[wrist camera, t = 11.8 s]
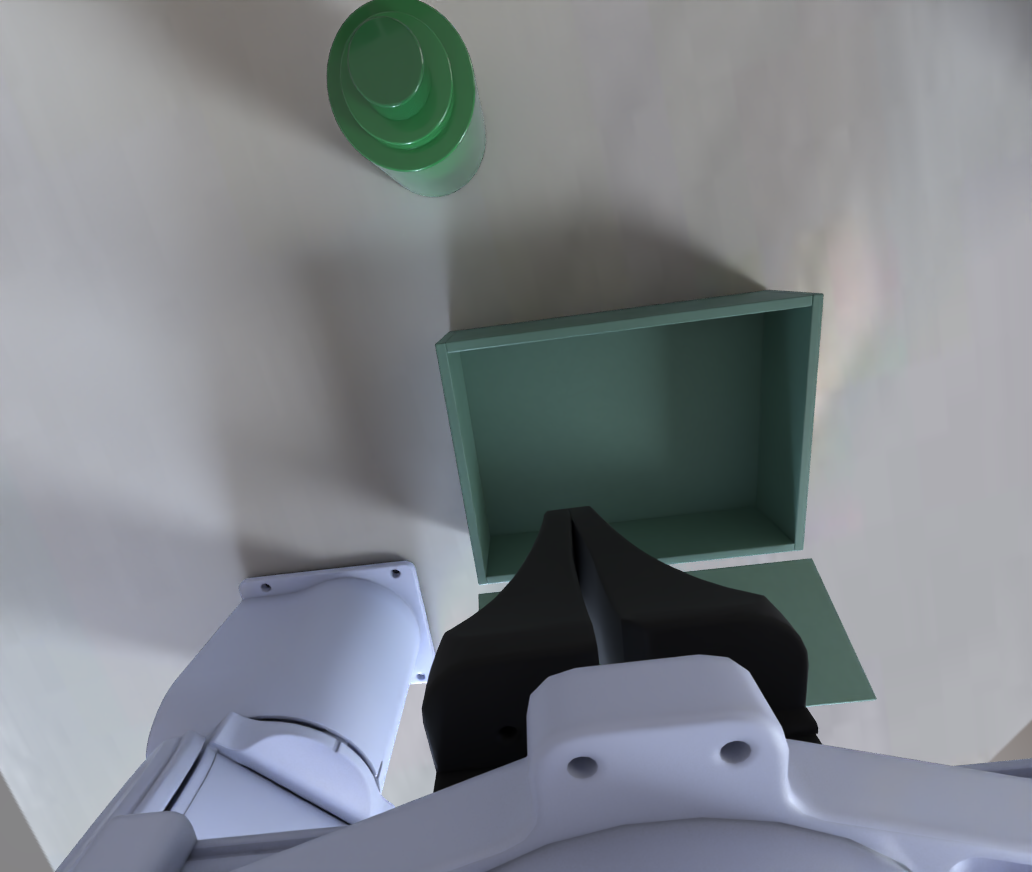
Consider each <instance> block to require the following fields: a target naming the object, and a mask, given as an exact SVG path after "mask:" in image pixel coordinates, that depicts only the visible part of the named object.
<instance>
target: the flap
mask: <svg viewBox="0 0 1032 872" xmlns="http://www.w3.org/2000/svg"><path fill="white" fill-rule="evenodd" d="M685 573H687V574H689V575H692V576H694V577H697V578H700V579H703V580H705V581H709V582H712V583H715V584H718V585H722V586H725V587H728V588H733V589H737V590H742V591H746V592H751V593H755V594H760V595H764V596H765V597H766V598H767V599H768V600H769V601H770V602H771V603H772V604H773V605H774V606H775V607H776V608H777V609H778V610H779V611H780V612H781V613H782V615H783V616H784V617H785V618H786V619H787V620H788V622H789V623H790V624H791V625H792V627H793V628H794V629H795V630H796V632H797V633H798V634H799V635H800V637H801V639H802V641H803V643H804V645H805V647H806V649H807V652H808V662H809V670H808V682H807V695H806V707H809V706H820V705H830V704H841V703H851V702H862V701H872V700H876V696H875V694H874V692H873V690H872V688H871V686H870V683H869V681H868V679H867V677H866V675H865V673H864V670H863V668H862V666H861V664H860V662H859V660H858V657H857V655H856V653H855V651H854V649H853V647H852V644H851V642H850V640H849V638H848V636H847V634H846V631H845V629H844V627H843V625H842V623H841V621H840V618H839V616H838V614H837V612H836V610H835V608H834V605H833V603H832V601H831V599H830V597H829V595H828V592H827V590H826V588H825V586H824V584H823V582H822V579H821V577H820V575H819V573H818V571H817V569H816V566H815V564H814V562H813V560H812V559H811V558H810V559H801V560H792V561H783V562H773V563H764V564H755V565H745V566H736V567H727V568H717V569H708V570H699V571H689V572H685ZM499 593H500V592H494V593H485V594H479V610H481V609H482V608H483V607H485V606H486V605H487V604H488V603H489V602H491V601H492V600H493V599H494V598H495V597H496V596H497V595H498V594H499ZM599 665H600V661H599Z"/></svg>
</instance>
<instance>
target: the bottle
mask: <svg viewBox="0 0 1032 872" xmlns="http://www.w3.org/2000/svg"><path fill="white" fill-rule="evenodd" d="M327 90H328V96H329V101H330V105H331V108H332V112H333V114H334V117H335V119H336V122H337V124H338V125H339V127H340V129H341V131H342V133H343V134H344V136H345V137H346V139H347V140H348V141H349V142H350V144H351V145H352V146H353V147H354V148H355V149H356V150H357V151H358V152H359V153H360V154H361V155H362V156H364V157H365V158H366V159H368V160H369V161H370V162H372V163H373V164H374V165H375V166H377V167H378V168H379V169H381V170H382V171H383V172H385V173H386V174H387V175H388V176H390V177H391V178H392V179H394V180H395V181H396V182H398V183H399V184H400V185H402V186H403V187H404V188H406V189H407V190H409V191H411V192H413V193H416V194H418V195H422V196H427V197H441V196H445V195H449V194H451V193H454V192H456V191H458V190H459V189H461V188H462V187H463V186H465V185H466V184H467V183H468V182H469V181H470V180H471V179H472V177H473V176H474V175H475V173H476V172H477V170H478V168H479V166H480V164H481V161H482V159H483V155H484V151H485V145H486V130H485V123H484V118H483V113H482V108H481V103H480V99H479V94H478V89H477V84H476V79H475V75H474V70H473V65H472V62H471V59H470V55H469V53H468V51H467V48H466V46H465V44H464V42H463V40H462V38H461V37H460V35H459V33H458V32H457V31H456V29H455V28H454V27H453V25H452V24H451V23H450V22H449V21H448V20H447V19H446V18H445V17H444V16H443V15H442V14H441V13H439V12H438V11H437V10H436V9H434V8H433V7H431V6H429V5H428V4H426V3H423V2H421V1H419V0H372V1H370V2H368V3H366V4H364V5H362V6H361V7H359V8H358V9H357V10H355V11H354V12H353V13H352V14H351V15H350V16H349V17H348V18H347V19H346V21H345V22H344V23H343V24H342V26H341V28H340V29H339V31H338V32H337V34H336V37H335V39H334V41H333V43H332V47H331V50H330V53H329V59H328V64H327Z"/></svg>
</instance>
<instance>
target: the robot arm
mask: <svg viewBox="0 0 1032 872" xmlns="http://www.w3.org/2000/svg"><path fill="white" fill-rule="evenodd" d="M394 569H396V570H398V571H399V572H400V573H394V572H393V571H392V570H394ZM265 584H268V585H270V587H267V586H266V585H265ZM239 591H240V594H241V597H242V599H243V600H242V601H241V602H240V604H239V605H238V606H237V607H236V608H235V610H234V611H233V612H232V613H231V614H230V616H229V617H228V618H227V619H226V620H225V622H224V623H223V624H222V625H221V626H220V628H219V629H218V630H217V631H216V632H215V634H214V635H213V636H212V637H211V638H210V640H209V641H208V642H207V643H206V644H205V645H204V647H203V648H202V649H201V650H200V651H199V653H198V654H197V655H196V656H195V657H194V659H193V660H192V661H191V662H190V663H189V665H188V666H187V667H186V668H185V669H184V671H183V672H182V673H181V674H180V675H179V677H178V678H177V679H176V680H175V681H174V683H173V684H172V686H171V687H170V689H169V690H168V692H167V693H166V695H165V697H164V699H163V700H162V702H161V705H160V707H159V709H158V711H157V714H156V716H155V719H154V722H153V724H152V727H151V731H150V734H149V738H148V743H147V751H146V760H145V761H144V762H143V763H142V764H141V766H140V767H139V768H138V769H137V770H136V771H135V773H134V774H133V775H132V776H131V777H130V779H129V780H128V781H127V782H126V783H125V785H124V786H123V787H122V788H121V789H120V791H119V792H118V793H117V794H116V796H115V797H114V798H113V799H112V800H111V802H110V803H109V804H108V805H107V807H106V808H105V809H104V810H103V812H102V813H101V814H100V815H99V817H98V818H97V819H96V820H95V822H94V823H93V824H92V825H91V827H90V828H89V829H88V830H87V832H86V833H85V834H84V835H83V837H82V838H81V839H80V840H79V842H78V843H77V844H76V845H75V847H74V848H73V849H72V851H71V852H70V853H69V854H68V856H67V857H66V858H65V860H64V861H63V862H62V863H61V865H60V866H59V867H58V869H57V870H56V871H55V872H1032V758H1030V759H1020V760H1009V761H999V762H989V763H979V764H969V765H958V766H950V765H944V764H938V763H932V762H926V761H920V760H914V759H907V758H901V757H895V756H889V755H883V754H877V753H871V752H865V751H859V750H852V749H846V748H840V747H834V746H828V745H822V743H821V742H820V740H819V739H818V737H817V736H816V734H818V726H817V723H816V721H815V719H814V718H813V716H812V715H811V713H810V712H809V710H808V709H807V708H806V695H807V682H808V670H809V662H808V652H807V649H806V647H805V645H804V643H803V641H802V639H801V637H800V635H799V634H798V633H797V632H796V630H795V629H794V628H793V627H792V625H791V624H790V623H789V622H788V620H787V619H786V618H785V617H784V616H783V615H782V613H781V612H780V611H779V610H778V609H777V608H776V607H775V606H774V605H773V604H772V603H771V602H770V601H769V600H768V599H767V598H766V597H765V596H764V595H760V594H755V593H751V592H746V591H742V590H737V589H733V588H728V587H725V586H722V585H718V584H715V583H712V582H709V581H705V580H703V579H700V578H697V577H694V576H692V575H689V574H687V573H685V572H682V571H680V570H678V569H675V568H673V567H671V566H669V565H667V564H665V563H663V562H661V561H659V560H658V559H656V558H654V557H652V556H650V555H649V554H647V553H645V552H644V551H642V550H641V549H639V548H638V547H636V546H635V545H633V544H632V543H631V542H629V541H628V540H627V539H625V538H624V537H623V536H622V535H621V534H619V533H618V532H617V531H616V530H615V529H613V528H612V527H611V526H610V525H609V524H608V523H607V522H606V521H605V520H604V519H603V518H602V517H601V516H600V515H599V514H598V513H597V512H596V511H595V510H594V509H593V508H592V507H590V506H583V507H575V508H567V509H558V510H550V511H547V512H546V513H545V514H544V518H543V522H542V525H541V528H540V531H539V534H538V536H537V538H536V540H535V542H534V545H533V547H532V549H531V550H530V552H529V554H528V556H527V557H526V559H525V561H524V563H523V564H522V566H521V567H520V569H519V570H518V572H517V573H516V574H515V576H514V577H513V578H512V580H511V581H510V582H509V583H508V584H507V586H506V587H505V588H504V589H503V590H502V591H501V592H500V593H499V594H498V595H497V596H496V597H495V598H494V599H493V600H492V601H491V602H489V603H488V604H487V605H486V606H485V607H483V608H482V609H481V610H479V611H478V612H477V613H476V614H474V615H473V616H471V617H470V618H468V619H467V620H465V621H463V622H462V623H460V624H459V625H457V626H455V627H454V628H452V629H451V630H449V631H447V632H445V634H444V635H443V638H442V640H441V642H440V645H439V647H438V650H437V652H436V655H435V651H434V647H433V642H432V638H431V634H430V629H429V625H428V621H427V616H426V612H425V608H424V603H423V599H422V595H421V590H420V586H419V582H418V577H417V573H416V569H415V566H414V564H413V563H411V562H409V561H397V562H388V563H379V564H370V565H361V566H352V567H343V568H334V569H325V570H316V571H307V572H298V573H289V574H280V575H271V576H262V577H253V578H247V579H244V580H243V581H242V582H241V584H240V585H239ZM599 661H600V665H599ZM419 673H422V674H424V675H420V674H419ZM426 682H427V685H426V690H425V695H424V700H423V705H422V716H423V724H424V728H425V731H426V735H427V739H428V743H429V746H430V750H431V754H432V757H433V761H434V765H435V769H436V779H435V785H434V791H433V793H432V794H429V795H426V796H424V797H421V798H419V799H416V800H413V801H411V802H408V803H406V804H403V805H400V806H398V807H394V805H393V804H392V803H390V802H389V801H387V800H386V799H385V798H384V797H383V796H382V795H381V793H382V789H383V785H384V781H385V777H386V773H387V769H388V765H389V762H390V758H391V754H392V750H393V746H394V742H395V738H396V735H397V731H398V727H399V723H400V719H401V715H402V711H403V708H404V704H405V700H406V696H407V692H408V688H409V684H416V683H426Z"/></svg>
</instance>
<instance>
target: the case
mask: <svg viewBox="0 0 1032 872" xmlns="http://www.w3.org/2000/svg"><path fill="white" fill-rule="evenodd" d="M823 296H824V295H823V294H822V293H807V292H792V291H777V290H765V291H758V292H750V293H742V294H735V295H727V296H719V297H712V298H704V299H696V300H689V301H681V302H673V303H666V304H658V305H650V306H643V307H635V308H628V309H620V310H612V311H605V312H597V313H589V314H582V315H574V316H566V317H559V318H551V319H543V320H536V321H528V322H520V323H513V324H505V325H497V326H490V327H482V328H475V329H467V330H459V331H452V332H449V333H447V334H446V335H445V336H444V337H443V338H442V339H441V340H439V341H438V342H437V343H436V344H435V347H436V352H437V358H438V363H439V369H440V374H441V380H442V385H443V391H444V396H445V402H446V407H447V413H448V418H449V424H450V429H451V435H452V440H453V446H454V451H455V457H456V462H457V468H458V473H459V479H460V484H461V490H462V495H463V501H464V506H465V512H466V517H467V523H468V528H469V534H470V539H471V545H472V550H473V556H474V561H475V567H476V572H477V578H478V583H479V585H483V584H487V583H488V584H493V583H502V582H510V581H511V580H512V578H513V577H514V576H515V574H516V573H517V572H518V570H519V569H520V567H521V566H522V564H523V563H524V561H525V559H526V557H527V556H528V554H529V552H530V550H531V549H532V547H533V545H534V542H535V540H536V538H537V536H538V534H539V531H540V528H541V525H542V522H543V518H544V514H545V513H546V512H547V511H550V510H558V509H567V508H575V507H583V506H590V507H592V508H593V509H594V510H595V511H596V512H597V513H598V514H599V515H600V516H601V517H602V518H603V519H604V520H605V521H606V522H607V523H608V524H609V525H610V526H611V527H612V528H613V529H615V530H616V531H617V532H618V533H619V534H621V535H622V536H623V537H624V538H625V539H627V540H628V541H629V542H631V543H632V544H633V545H635V546H636V547H638V548H639V549H641V550H642V551H644V552H645V553H647V554H649V555H650V556H652V557H654V558H656V559H658V560H659V561H661V562H663V563H665V564H667V565H668V564H678V563H687V562H696V561H705V560H715V559H724V558H733V557H742V556H752V555H761V554H770V553H779V552H788V551H798V550H803V545H804V533H805V520H806V508H807V495H808V483H809V470H810V458H811V445H812V433H813V421H814V408H815V396H816V383H817V371H818V358H819V346H820V333H821V321H822V308H823Z"/></svg>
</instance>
